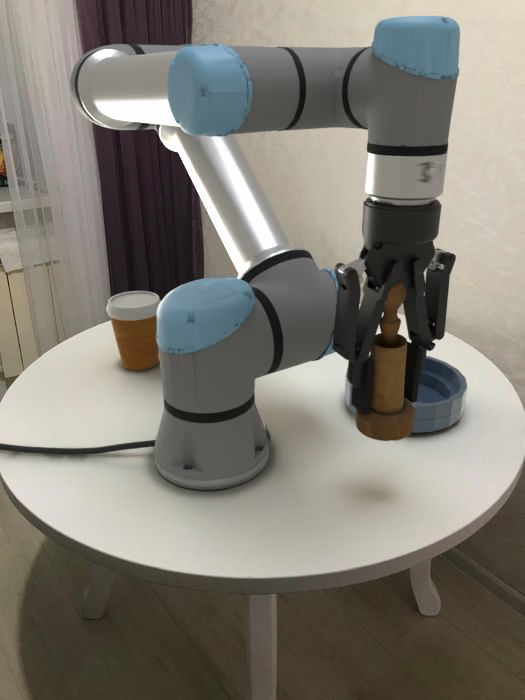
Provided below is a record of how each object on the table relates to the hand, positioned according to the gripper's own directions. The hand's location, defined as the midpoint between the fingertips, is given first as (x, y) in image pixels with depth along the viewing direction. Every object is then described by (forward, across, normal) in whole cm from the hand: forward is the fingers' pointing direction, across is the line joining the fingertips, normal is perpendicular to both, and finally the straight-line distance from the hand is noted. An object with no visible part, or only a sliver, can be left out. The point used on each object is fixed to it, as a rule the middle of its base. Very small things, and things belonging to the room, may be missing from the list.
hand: (384, 402), depth 67 cm
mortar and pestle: (+3, 0, 0) cm, 3 cm away
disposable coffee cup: (+12, -18, +47) cm, 52 cm away
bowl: (+12, +15, +15) cm, 25 cm away
